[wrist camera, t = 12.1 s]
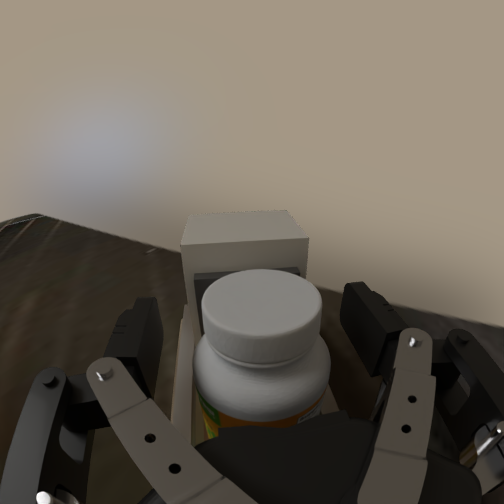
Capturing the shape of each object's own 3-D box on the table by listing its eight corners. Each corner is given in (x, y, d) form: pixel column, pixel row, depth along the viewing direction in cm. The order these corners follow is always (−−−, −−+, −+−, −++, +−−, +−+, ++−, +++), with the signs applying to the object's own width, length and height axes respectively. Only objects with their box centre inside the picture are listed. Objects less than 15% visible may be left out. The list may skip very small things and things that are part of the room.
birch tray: (175, 539, 8) (158, 531, 7) (183, 332, 24) (178, 305, 23) (366, 513, 9) (385, 499, 8) (295, 324, 25) (297, 296, 24)
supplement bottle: (191, 446, 13) (145, 303, 9) (250, 391, 17) (246, 249, 13) (272, 499, 10) (290, 383, 6) (326, 428, 14) (365, 283, 10)
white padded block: (203, 394, 17) (178, 250, 12) (203, 341, 21) (188, 214, 17) (296, 385, 17) (312, 242, 13) (280, 335, 22) (286, 210, 18)
